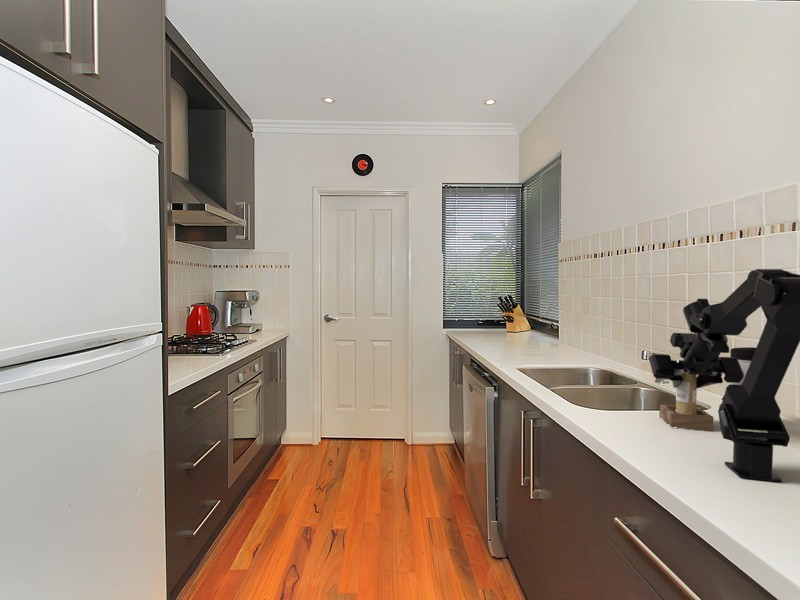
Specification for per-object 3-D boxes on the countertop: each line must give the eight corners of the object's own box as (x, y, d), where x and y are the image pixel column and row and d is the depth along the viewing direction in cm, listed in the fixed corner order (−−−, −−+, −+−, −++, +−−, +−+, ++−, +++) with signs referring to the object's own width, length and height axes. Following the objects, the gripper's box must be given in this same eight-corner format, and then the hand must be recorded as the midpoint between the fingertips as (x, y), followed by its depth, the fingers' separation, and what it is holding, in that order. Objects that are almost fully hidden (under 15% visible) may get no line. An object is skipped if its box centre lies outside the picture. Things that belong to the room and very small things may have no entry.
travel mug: (757, 429, 106) (760, 348, 106) (725, 422, 111) (727, 345, 111) (762, 424, 110) (765, 346, 110) (730, 418, 115) (733, 343, 115)
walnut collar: (713, 431, 104) (713, 417, 104) (671, 427, 107) (671, 413, 107) (697, 420, 113) (698, 407, 113) (659, 417, 115) (659, 404, 115)
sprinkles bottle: (700, 416, 107) (702, 362, 107) (683, 416, 107) (685, 362, 107) (687, 411, 112) (689, 359, 112) (670, 411, 112) (672, 359, 111)
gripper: (739, 324, 103) (715, 363, 114) (652, 321, 107) (637, 359, 118) (757, 362, 96) (729, 399, 107) (663, 358, 100) (646, 394, 111)
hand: (684, 386), depth 111 cm, fingers closed on sprinkles bottle, 4 cm apart
